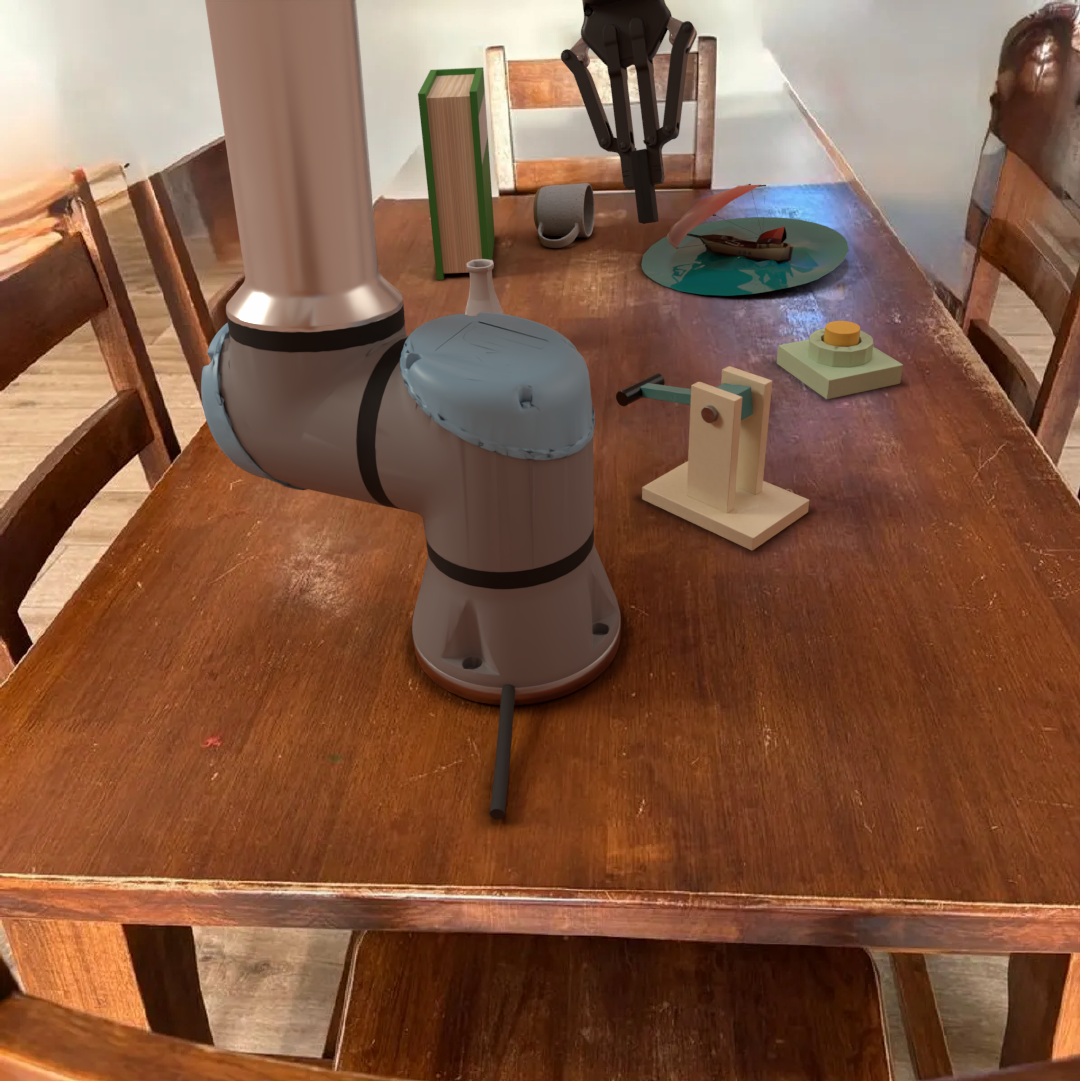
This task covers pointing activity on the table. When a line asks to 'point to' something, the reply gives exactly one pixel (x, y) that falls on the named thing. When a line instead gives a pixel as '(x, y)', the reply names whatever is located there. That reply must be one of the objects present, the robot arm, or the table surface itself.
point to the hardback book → (457, 167)
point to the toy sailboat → (741, 251)
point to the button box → (839, 365)
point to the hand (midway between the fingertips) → (648, 221)
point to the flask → (481, 289)
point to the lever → (677, 393)
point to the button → (842, 334)
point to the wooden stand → (728, 467)
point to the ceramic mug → (564, 213)
